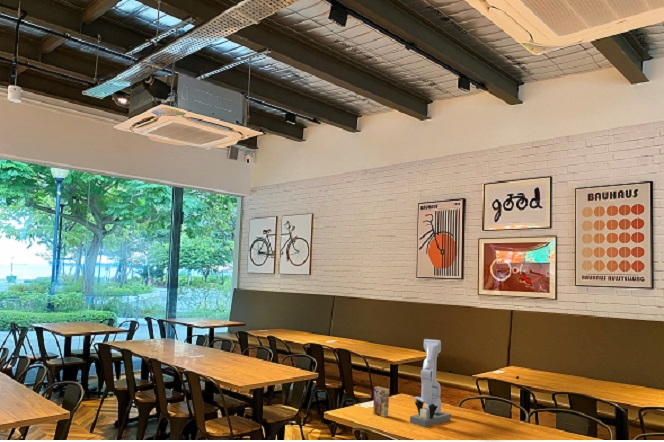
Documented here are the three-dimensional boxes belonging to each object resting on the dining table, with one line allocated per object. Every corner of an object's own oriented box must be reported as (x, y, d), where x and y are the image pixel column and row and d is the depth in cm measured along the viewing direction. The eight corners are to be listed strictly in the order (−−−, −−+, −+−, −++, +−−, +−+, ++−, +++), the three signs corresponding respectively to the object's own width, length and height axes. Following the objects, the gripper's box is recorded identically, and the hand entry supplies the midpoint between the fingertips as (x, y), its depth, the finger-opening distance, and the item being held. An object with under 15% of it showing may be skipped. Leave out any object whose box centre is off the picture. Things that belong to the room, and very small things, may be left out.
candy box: (388, 416, 297) (389, 389, 299) (383, 417, 294) (384, 389, 296) (377, 412, 304) (378, 386, 305) (372, 413, 301) (373, 386, 303)
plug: (425, 419, 289) (425, 407, 290) (431, 421, 286) (431, 409, 287) (419, 421, 285) (420, 409, 286) (425, 423, 283) (425, 410, 283)
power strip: (436, 416, 302) (436, 409, 302) (450, 420, 294) (450, 413, 295) (410, 422, 286) (410, 415, 286) (424, 427, 278) (424, 419, 279)
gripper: (411, 389, 290) (411, 414, 289) (432, 394, 280) (432, 420, 278) (419, 388, 295) (418, 412, 293) (440, 393, 284) (440, 418, 283)
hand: (425, 416), depth 286 cm, fingers open, 7 cm apart
